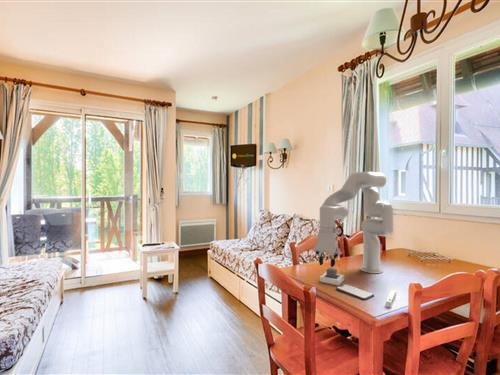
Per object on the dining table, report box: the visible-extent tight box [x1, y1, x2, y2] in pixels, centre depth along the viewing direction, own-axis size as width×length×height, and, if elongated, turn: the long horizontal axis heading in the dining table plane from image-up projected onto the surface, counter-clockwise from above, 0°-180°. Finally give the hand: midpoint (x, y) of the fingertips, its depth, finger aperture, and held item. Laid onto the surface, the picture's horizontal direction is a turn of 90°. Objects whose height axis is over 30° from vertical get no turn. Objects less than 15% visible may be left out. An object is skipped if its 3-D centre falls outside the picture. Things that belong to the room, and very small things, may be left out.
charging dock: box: [385, 289, 397, 308], centre depth 125 cm, size 16×2×3 cm, turn 145°
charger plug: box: [326, 265, 338, 279], centre depth 150 cm, size 4×4×7 cm
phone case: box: [335, 283, 375, 301], centre depth 134 cm, size 9×2×16 cm
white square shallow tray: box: [319, 271, 345, 287], centre depth 149 cm, size 10×10×3 cm
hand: (326, 265), depth 141 cm, fingers open, 5 cm apart
